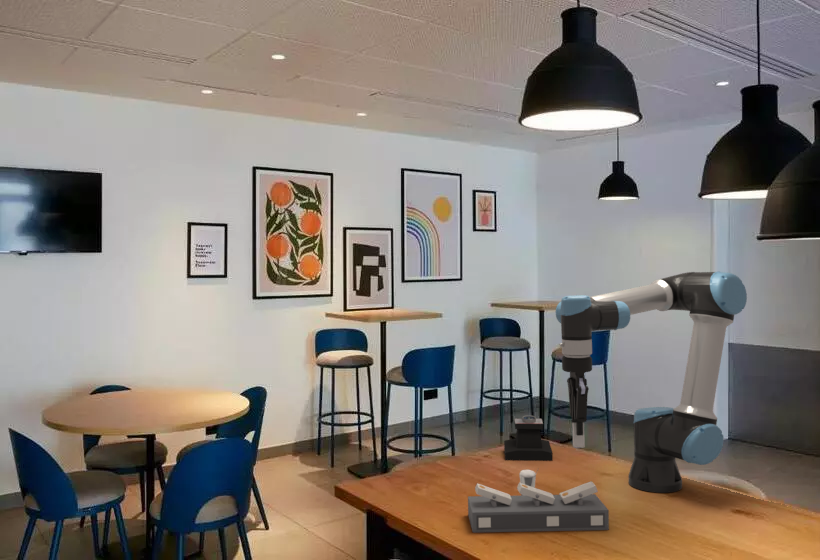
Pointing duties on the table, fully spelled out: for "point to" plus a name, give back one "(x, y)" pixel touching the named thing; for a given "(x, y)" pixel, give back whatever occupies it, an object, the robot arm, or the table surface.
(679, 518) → the table surface
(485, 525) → the console
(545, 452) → the black pedestal stand
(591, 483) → the rocker
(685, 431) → the robot arm
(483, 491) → the rocker
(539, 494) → the rocker mid
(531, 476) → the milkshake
